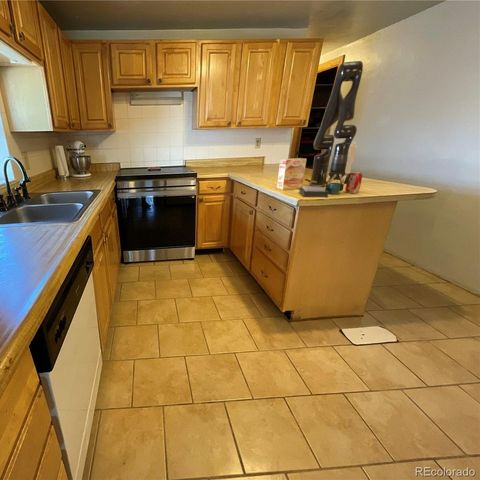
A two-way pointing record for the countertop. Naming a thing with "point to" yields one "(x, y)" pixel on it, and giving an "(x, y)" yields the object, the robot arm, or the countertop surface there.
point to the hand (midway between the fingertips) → (333, 190)
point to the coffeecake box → (291, 173)
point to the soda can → (354, 182)
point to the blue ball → (334, 188)
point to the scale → (313, 193)
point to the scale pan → (313, 188)
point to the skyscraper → (350, 159)
